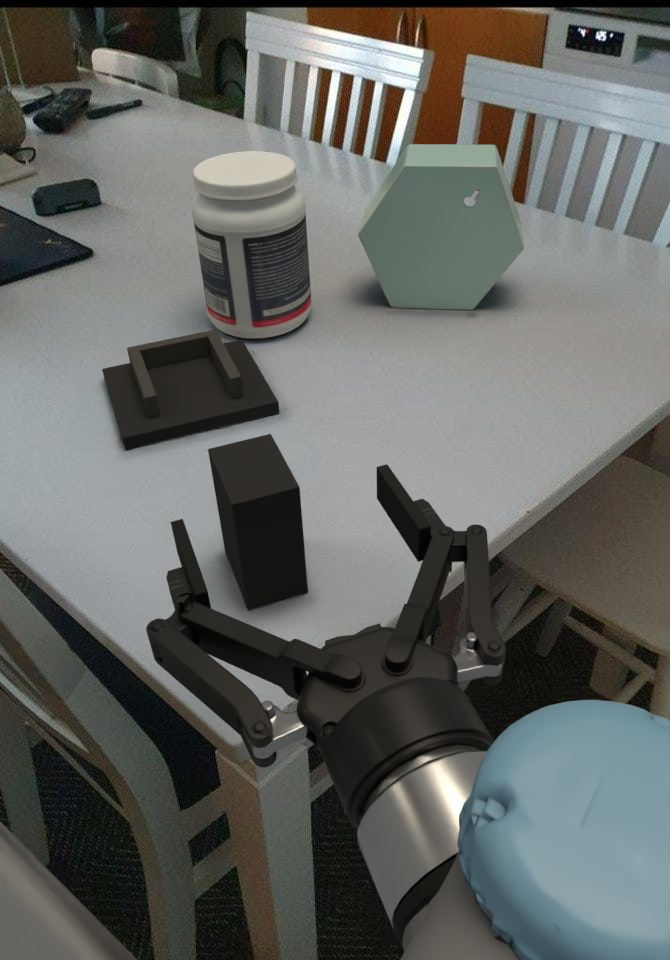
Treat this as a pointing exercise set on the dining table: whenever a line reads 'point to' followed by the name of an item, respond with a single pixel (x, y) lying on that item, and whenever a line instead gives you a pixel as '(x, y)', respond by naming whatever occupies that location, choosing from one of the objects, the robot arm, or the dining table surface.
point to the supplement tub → (252, 243)
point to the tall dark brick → (260, 520)
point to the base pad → (186, 388)
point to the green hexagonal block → (442, 227)
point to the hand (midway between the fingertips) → (284, 507)
